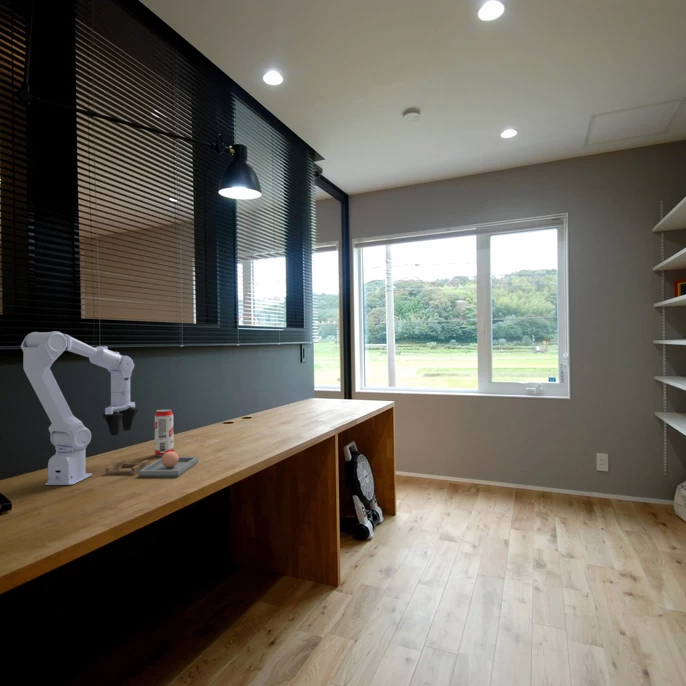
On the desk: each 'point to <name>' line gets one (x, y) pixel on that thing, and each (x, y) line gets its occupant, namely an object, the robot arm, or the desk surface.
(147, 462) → the frame
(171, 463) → the ball
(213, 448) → the desk surface
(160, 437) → the beer can
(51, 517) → the desk surface
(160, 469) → the tray
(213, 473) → the desk surface
